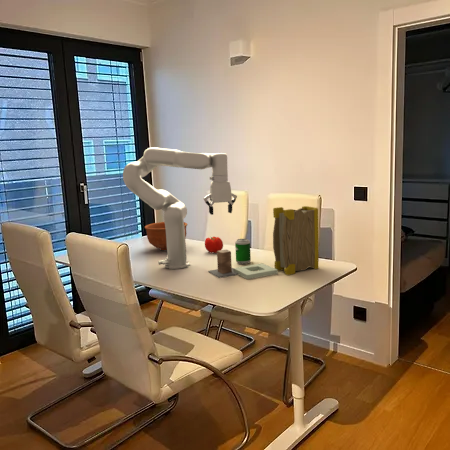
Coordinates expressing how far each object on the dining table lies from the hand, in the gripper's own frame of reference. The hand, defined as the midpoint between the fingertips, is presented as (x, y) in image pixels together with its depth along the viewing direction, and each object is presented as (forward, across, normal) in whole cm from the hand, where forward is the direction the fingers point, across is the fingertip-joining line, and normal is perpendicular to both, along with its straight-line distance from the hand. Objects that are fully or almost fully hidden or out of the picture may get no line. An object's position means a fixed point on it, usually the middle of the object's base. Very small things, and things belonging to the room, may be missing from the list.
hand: (220, 213), depth 233 cm
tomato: (+27, +7, +30) cm, 41 cm away
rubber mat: (+26, -4, -13) cm, 30 cm away
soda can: (+27, +12, 0) cm, 29 cm away
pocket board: (+26, +9, -20) cm, 34 cm away
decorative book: (+26, +28, -25) cm, 46 cm away
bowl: (+28, -15, +51) cm, 60 cm away
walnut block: (+26, -4, -13) cm, 29 cm away
